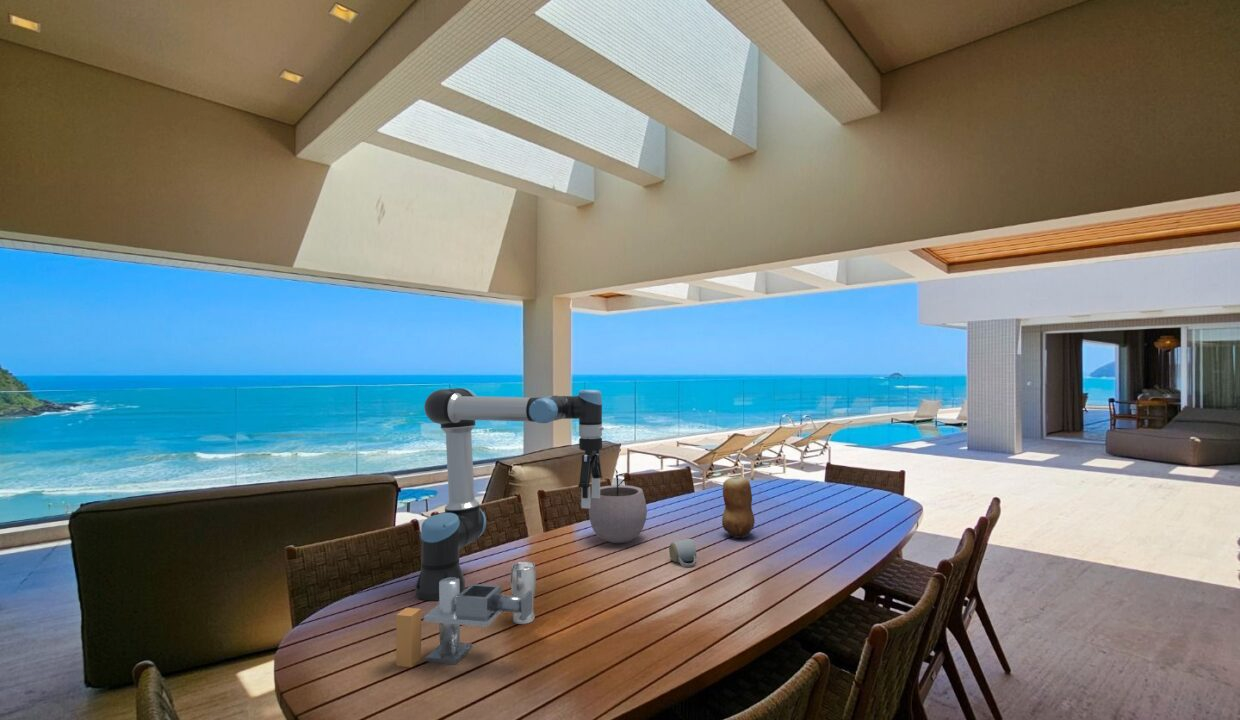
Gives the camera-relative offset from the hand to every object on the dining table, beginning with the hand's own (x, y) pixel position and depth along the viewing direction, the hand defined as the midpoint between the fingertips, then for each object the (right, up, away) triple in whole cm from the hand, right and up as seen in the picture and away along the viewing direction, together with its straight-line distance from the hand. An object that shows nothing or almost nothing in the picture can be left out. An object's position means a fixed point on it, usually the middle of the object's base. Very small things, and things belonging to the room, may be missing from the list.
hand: (591, 502), depth 172 cm
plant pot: (+9, -29, +47) cm, 55 cm away
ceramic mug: (+33, -28, +21) cm, 48 cm away
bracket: (-21, -15, -43) cm, 50 cm away
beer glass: (-18, -27, -22) cm, 39 cm away
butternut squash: (+59, -28, +49) cm, 82 cm away
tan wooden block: (-42, -27, -44) cm, 66 cm away
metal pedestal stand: (-29, -27, -42) cm, 57 cm away
